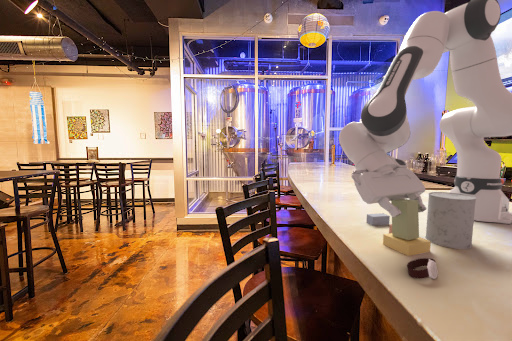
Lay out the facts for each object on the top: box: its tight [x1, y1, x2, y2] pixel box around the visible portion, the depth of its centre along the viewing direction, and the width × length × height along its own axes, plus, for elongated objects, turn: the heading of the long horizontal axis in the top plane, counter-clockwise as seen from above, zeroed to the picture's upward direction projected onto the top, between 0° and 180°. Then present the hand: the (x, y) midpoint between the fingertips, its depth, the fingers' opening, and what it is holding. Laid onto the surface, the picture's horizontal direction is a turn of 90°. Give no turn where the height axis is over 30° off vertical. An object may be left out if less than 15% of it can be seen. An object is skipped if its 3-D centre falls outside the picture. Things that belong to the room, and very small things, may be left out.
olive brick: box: [390, 198, 420, 240], centre depth 58 cm, size 4×4×9 cm
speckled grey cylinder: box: [425, 191, 476, 250], centre depth 62 cm, size 10×10×12 cm
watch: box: [406, 257, 439, 280], centre depth 46 cm, size 8×5×4 cm, turn 127°
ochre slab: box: [382, 232, 432, 257], centre depth 58 cm, size 7×7×3 cm
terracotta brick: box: [388, 223, 392, 234], centre depth 68 cm, size 6×3×3 cm, turn 123°
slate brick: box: [365, 212, 391, 226], centre depth 77 cm, size 6×3×3 cm, turn 99°
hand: (410, 213), depth 57 cm, fingers open, 8 cm apart
